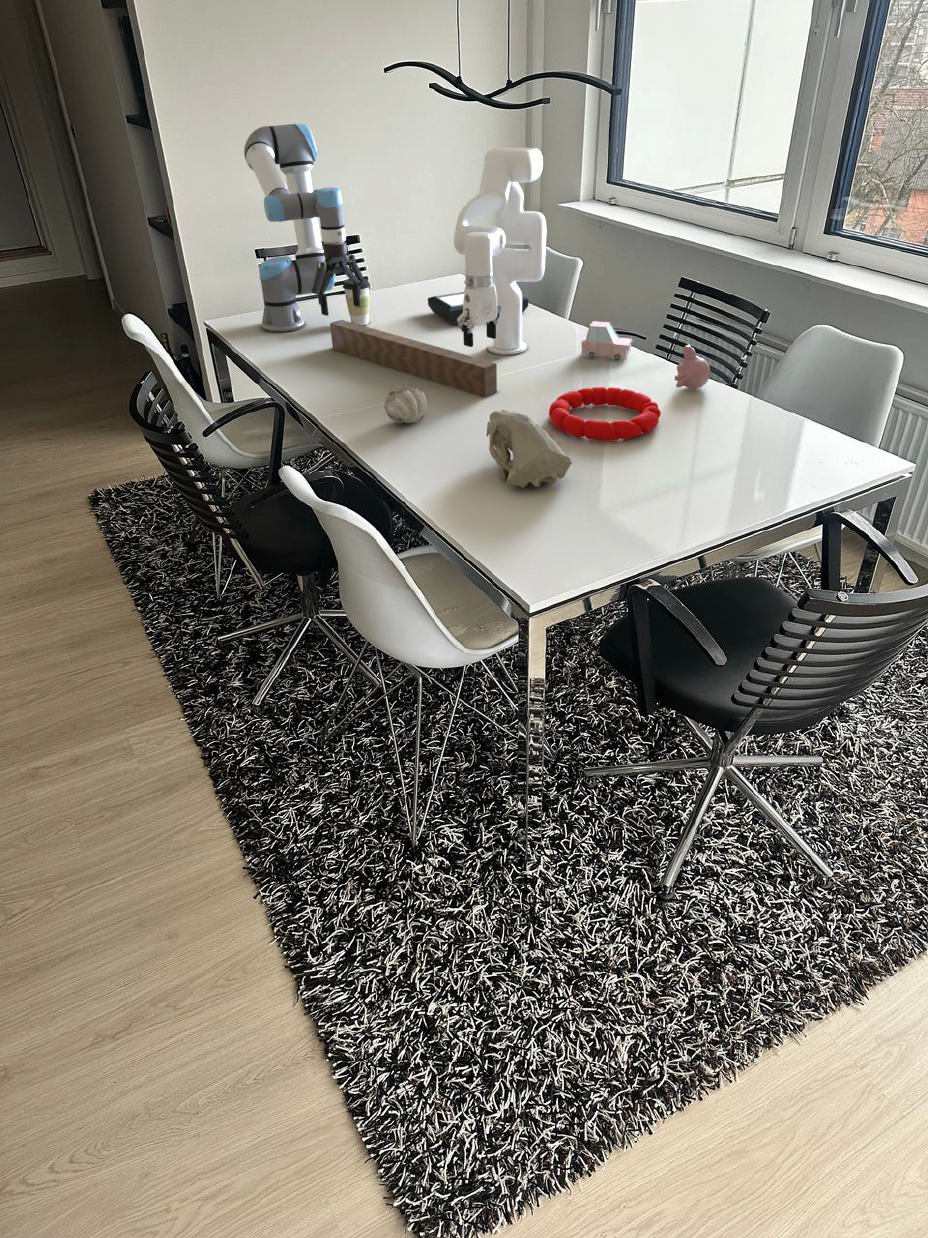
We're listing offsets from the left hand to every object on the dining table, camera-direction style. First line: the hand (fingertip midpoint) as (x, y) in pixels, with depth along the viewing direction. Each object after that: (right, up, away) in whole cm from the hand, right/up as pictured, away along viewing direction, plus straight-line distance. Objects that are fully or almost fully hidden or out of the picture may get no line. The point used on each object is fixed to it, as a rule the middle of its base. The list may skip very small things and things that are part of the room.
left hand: (341, 310), depth 295 cm
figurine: (+107, -34, -32) cm, 117 cm away
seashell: (+25, -48, -47) cm, 72 cm away
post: (+23, -22, -10) cm, 34 cm away
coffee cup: (+2, +6, +32) cm, 33 cm away
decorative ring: (+79, -48, -51) cm, 106 cm away
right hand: (+45, -22, -37) cm, 63 cm away
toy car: (+87, -17, -6) cm, 89 cm away
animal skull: (+55, -66, -75) cm, 113 cm away
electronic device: (+46, +12, +38) cm, 61 cm away
